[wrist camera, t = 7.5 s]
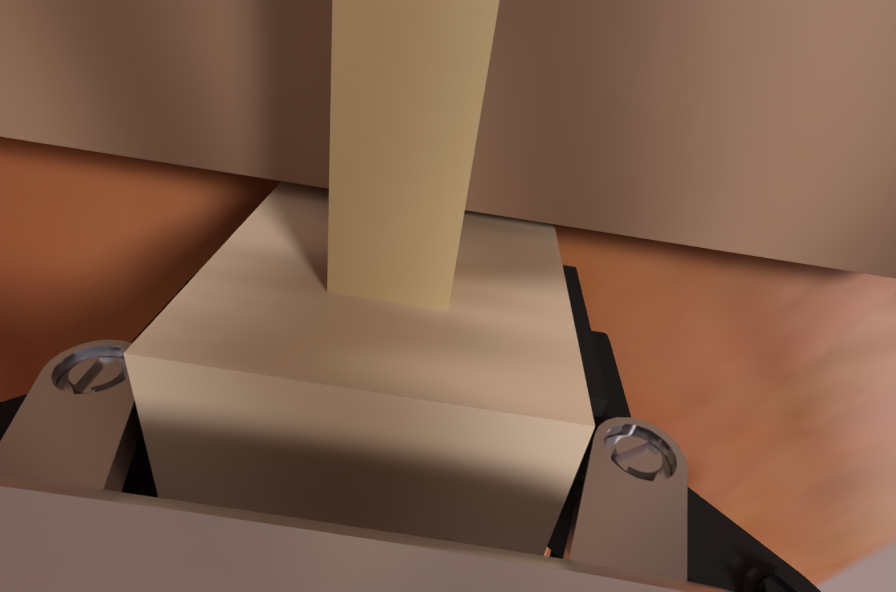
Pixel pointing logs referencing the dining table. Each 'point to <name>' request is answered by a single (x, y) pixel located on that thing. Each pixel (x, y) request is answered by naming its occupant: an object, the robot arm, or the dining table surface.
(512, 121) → the board
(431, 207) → the mallet
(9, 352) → the dining table surface
